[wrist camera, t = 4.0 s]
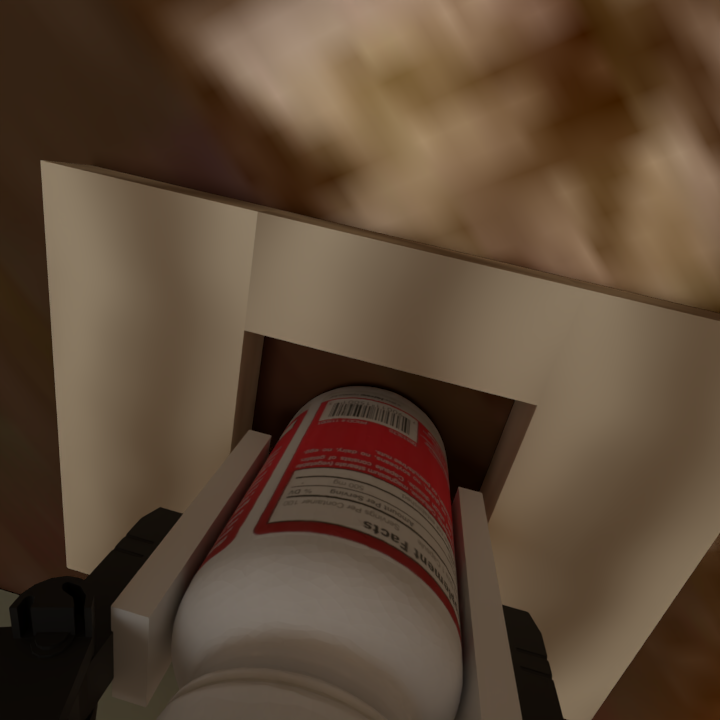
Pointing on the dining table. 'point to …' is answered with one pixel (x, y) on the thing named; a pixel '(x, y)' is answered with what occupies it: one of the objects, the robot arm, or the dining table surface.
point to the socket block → (398, 351)
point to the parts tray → (112, 713)
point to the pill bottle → (330, 577)
